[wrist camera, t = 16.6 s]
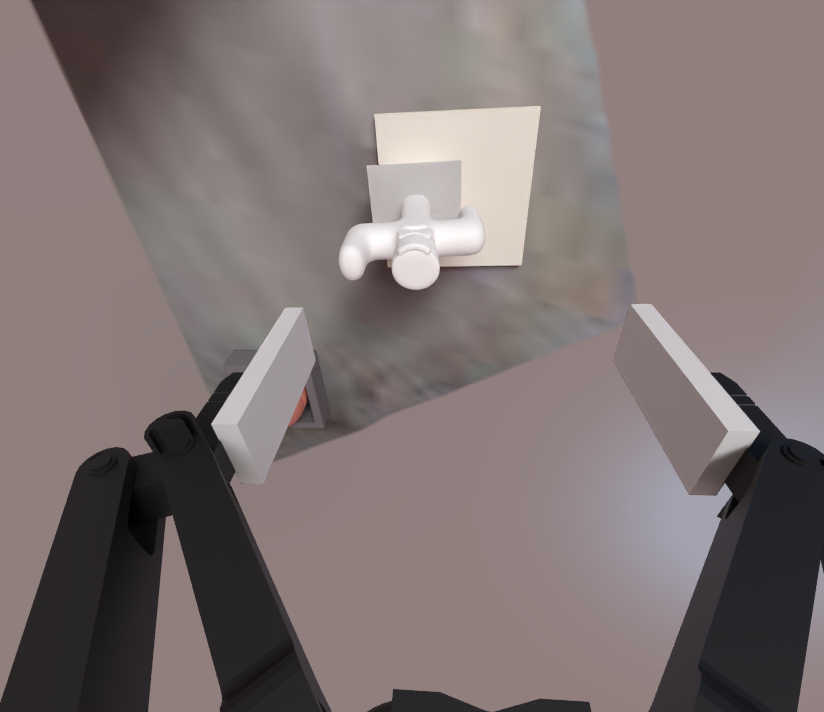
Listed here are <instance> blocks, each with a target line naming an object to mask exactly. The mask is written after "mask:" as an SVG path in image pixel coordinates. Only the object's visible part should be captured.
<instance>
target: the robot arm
mask: <svg viewBox="0 0 824 712" xmlns="http://www.w3.org/2000/svg"><path fill="white" fill-rule="evenodd" d="M315 361H316V359H315V355H314V351H313V346H312V342H311V338H310V334H309V330H308V326H307V321H306V317H305V313H304V309H303V308H285V309H284V311H283V312H282V314H281V315H280V317H279V319H278V320H277V322H276V323H275V325H274V326H273V328H272V330H271V331H270V333H269V334H268V336H267V337H266V339H265V341H264V342H263V344H262V345H261V347H260V348H259V350H258V352H257V353H256V355H255V356H254V358H253V359H252V361H251V362H250V364H249V366H248V367H247V369H246V370H245V372H233V373H232V374H230V375H229V376H228V377H226V378H225V379H224V380H223V381H221V383H220V384H219V386H218V387H217V389H216V390H215V391H214V394H212V396H211V397H210V399H209V402H207V403H206V405H205V406H204V407H203V409H202V410H201V412H200V413H199V415H198V416H197V417H196V418H195V416H194V415H193V414H192V413H191V412H188V411H174V412H171V413H168V414H165V415H163V416H161V417H159V418H157V419H156V420H155V421H154V422H152V423H151V424H150V425H149V426H148V428H147V429H146V431H145V435H144V439H145V440H146V442H147V443H148V445H149V446H150V448H151V449H152V451H153V452H151V453H147V454H143V455H138V456H134V457H132V456H131V455H130V454H129V452H128V451H127V450H125V449H124V448H118V447H114V448H109V449H105V450H103V451H100V452H98V453H96V454H94V455H93V456H91V457H90V458H88V459H87V460H86V461H85V462H84V463H83V464H82V465H81V466H80V467H79V469H78V470H77V472H76V474H75V477H74V480H73V483H72V486H71V490H70V492H69V495H68V498H67V502H66V505H65V508H64V511H63V514H62V517H61V520H60V523H59V526H58V529H57V532H56V535H55V538H54V541H53V544H52V547H51V550H50V553H49V556H48V559H47V562H46V565H45V568H44V571H43V575H42V577H41V580H40V584H39V587H38V590H37V593H36V596H35V599H34V602H33V605H32V608H31V611H30V614H29V617H28V620H27V623H26V626H25V629H24V633H23V635H22V639H21V641H20V644H19V647H18V651H17V654H16V657H15V660H14V663H13V666H12V669H11V672H10V675H9V678H8V682H7V684H6V687H5V690H4V693H3V696H2V699H1V702H0V712H148V704H149V693H150V683H151V673H152V661H153V651H154V639H155V629H156V618H157V607H158V596H159V585H160V575H161V564H162V553H163V542H164V532H165V520H166V517H167V516H171V515H173V518H174V521H175V525H176V529H177V532H178V536H179V540H180V543H181V547H182V551H183V554H184V558H185V561H186V565H187V569H188V572H189V576H190V580H191V583H192V587H193V591H194V594H195V598H196V602H197V605H198V609H199V612H200V616H201V620H202V623H203V627H204V631H205V634H206V638H207V641H208V645H209V648H210V652H211V656H212V660H213V663H214V667H215V670H216V674H217V678H218V682H219V685H220V689H221V694H222V703H221V707H220V712H331V709H330V707H329V705H328V703H327V701H326V699H325V697H324V695H323V693H322V691H321V689H320V686H319V684H318V682H317V680H316V678H315V675H314V673H313V671H312V668H311V666H310V664H309V662H308V660H307V657H306V655H305V653H304V650H303V648H302V646H301V644H300V641H299V639H298V637H297V634H296V632H295V630H294V628H293V625H292V623H291V621H290V618H289V616H288V614H287V612H286V609H285V607H284V605H283V603H282V600H281V598H280V596H279V593H278V591H277V589H276V587H275V584H274V582H273V580H272V578H271V575H270V573H269V571H268V568H267V566H266V564H265V562H264V559H263V557H262V555H261V553H260V551H259V548H258V546H257V544H256V541H255V539H254V537H253V534H252V532H251V530H250V528H249V525H248V523H247V521H246V518H245V516H244V514H243V512H242V509H241V507H240V505H239V503H238V500H237V498H236V496H235V494H234V491H233V489H232V487H231V486H230V481H231V479H232V477H233V475H234V473H236V475H237V477H238V479H239V481H240V483H241V484H264V481H265V479H266V477H267V474H268V472H269V470H270V467H271V465H272V462H273V460H274V458H275V455H276V453H277V451H278V448H279V446H280V444H281V441H282V439H283V437H284V434H285V432H286V429H287V427H288V425H289V422H290V420H291V418H292V415H293V413H294V411H295V408H296V406H297V404H298V401H299V399H300V397H301V394H302V392H303V389H304V387H305V385H306V382H307V380H308V378H309V375H310V373H311V371H312V368H313V366H314V364H315ZM613 362H614V364H615V365H616V367H617V369H618V371H619V372H620V374H621V376H622V378H623V379H624V381H625V383H626V385H627V386H628V388H629V390H630V392H631V394H632V395H633V397H634V399H635V401H636V402H637V404H638V406H639V408H640V409H641V411H642V413H643V415H644V416H645V418H646V420H647V422H648V423H649V425H650V427H651V429H652V430H653V432H654V434H655V436H656V438H657V439H658V441H659V443H660V445H661V446H662V448H663V450H664V452H665V453H666V455H667V457H668V459H669V461H670V462H671V464H672V466H673V468H674V469H675V471H676V473H677V475H678V476H679V478H680V480H681V482H682V483H683V485H684V487H685V489H686V490H687V492H688V494H689V495H713V496H716V495H717V493H718V492H719V491H720V489H721V488H722V486H723V485H724V483H726V485H727V486H728V488H729V489H730V490H731V492H732V494H733V495H732V496H731V497H730V499H729V500H728V502H727V503H726V505H725V506H724V507H723V508H722V510H721V512H720V513H719V514H718V516H717V517H719V518H721V521H720V523H719V527H718V529H717V531H716V534H715V537H714V540H713V542H712V545H711V548H710V550H709V553H708V556H707V558H706V561H705V564H704V566H703V569H702V572H701V574H700V577H699V580H698V582H697V585H696V588H695V591H694V593H693V596H692V599H691V601H690V604H689V607H688V609H687V612H686V615H685V617H684V620H683V623H682V626H681V628H680V631H679V634H678V636H677V639H676V642H675V644H674V647H673V650H672V652H671V655H670V658H669V660H668V663H667V666H666V668H665V671H664V674H663V676H662V679H661V682H660V684H659V687H658V690H657V693H656V695H655V698H654V701H653V703H652V705H651V708H650V710H649V712H797V708H798V702H799V695H800V688H801V682H802V676H803V669H804V662H805V656H806V650H807V643H808V637H809V630H810V624H811V618H812V611H813V605H814V598H815V591H816V585H817V578H818V572H819V565H820V559H821V563H822V567H823V572H824V454H822V453H821V452H820V451H818V450H817V449H816V448H814V447H812V446H810V445H808V444H806V443H803V442H800V441H797V440H793V439H787V438H786V437H785V436H784V435H783V434H782V433H781V432H780V430H779V429H778V428H777V427H776V426H775V425H774V424H773V423H772V422H771V420H770V419H769V418H768V417H767V416H766V415H765V414H764V413H763V412H762V411H761V410H760V408H759V407H758V406H755V403H754V402H753V401H752V400H751V399H750V397H747V396H746V395H747V394H746V393H745V392H744V391H743V390H742V389H741V388H740V387H739V385H738V384H737V383H736V382H734V381H732V380H731V379H729V378H728V377H726V376H725V375H723V374H722V373H710V372H709V371H708V370H707V369H706V368H705V366H704V365H703V364H702V363H701V362H700V361H699V360H698V358H697V357H696V356H695V355H694V354H693V353H692V351H691V350H690V349H689V348H688V347H687V345H686V344H685V343H684V342H683V341H682V340H681V339H680V337H679V336H678V335H677V334H676V333H675V332H674V330H673V329H672V328H671V327H670V326H669V324H668V323H667V322H666V321H665V320H664V319H663V317H662V316H661V315H660V314H659V313H658V312H657V311H656V309H655V308H654V307H653V306H652V305H651V304H630V308H629V311H628V314H627V317H626V320H625V323H624V326H623V330H622V333H621V336H620V339H619V342H618V345H617V349H616V352H615V355H614V358H613ZM368 712H488V711H485V710H482V709H480V708H477V707H475V706H473V705H470V704H468V703H465V702H463V701H460V700H458V699H455V698H453V697H450V696H448V695H446V694H443V693H441V692H429V691H414V690H399V689H393V698H392V701H390V702H387V703H383V704H381V705H379V706H377V707H374V708H372V709H371V710H369V711H368ZM495 712H591V708H590V703H589V702H582V701H567V700H551V699H538V700H534V701H530V702H527V703H523V704H520V705H516V706H513V707H509V708H506V709H502V710H499V711H495Z"/></svg>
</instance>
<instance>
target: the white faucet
mask: <svg viewBox="0 0 824 712" xmlns="http://www.w3.org/2000/svg"><path fill="white" fill-rule="evenodd" d="M461 167H462V160H459V161H440V162H422V163H404V164H386V165H368V166H367V174H368V183H369V192H370V201H371V211H372V220H373V223H365V224H358V225H355V226H353V227H352V228H351V229H350V230H349V231H348V233H347V235H346V237H345V239H344V242H343V244H342V246H341V249H340V252H339V266H340V270H341V272H342V274H343V275H344V276H345V277H346V278H347V279H349V280H357V279H359V278H361V276H362V275H363V273H364V271H365V268H366V265H367V264H368V263H370V262H372V261H374V260H384V259H393V260H392V274H393V276H394V278H395V280H396V281H397V282H398V283H399V284H400V285H401V286H403V287H405V288H407V289H412V290H420V289H424V288H427V287H429V286H430V285H432V284H433V283H434V282H435V281H436V279H437V277H438V275H439V271H440V266H439V257H449V256H469V255H474V254H477V253H479V252H480V251H481V250H482V248H483V246H484V243H485V229H484V225H483V222H482V220H481V217H480V215H479V213H478V211H477V209H476V208H475V207H474V206H471V205H467V206H465V207H463V208H462V209H461Z"/></svg>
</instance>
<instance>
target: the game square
mask: <svg viewBox="0 0 824 712" xmlns="http://www.w3.org/2000/svg"><path fill="white" fill-rule="evenodd" d="M540 108H541V106H527V107H507V108H486V109H465V110H445V111H424V112H404V113H383V114H374V116H375V128H376V139H377V151H378V162H379V165H386V164H404V163H422V162H440V161H459V160H462V167H461V209H462V208H463V207H465V206H467V205H471V206H474V207H475V208H476V209H477V211H478V213H479V215H480V217H481V220H482V222H483V225H484V229H485V243H484V246H483V248H482V250H481V251H480V252H479V253H477V254H474V255H469V256H449V257H439V266H440V267H445V266H508V265H521V264H522V256H523V248H524V239H525V231H526V223H527V215H528V207H529V198H530V190H531V182H532V174H533V165H534V157H535V149H536V141H537V133H538V124H539V116H540ZM392 260H393V259H387V265H388V267H392Z"/></svg>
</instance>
